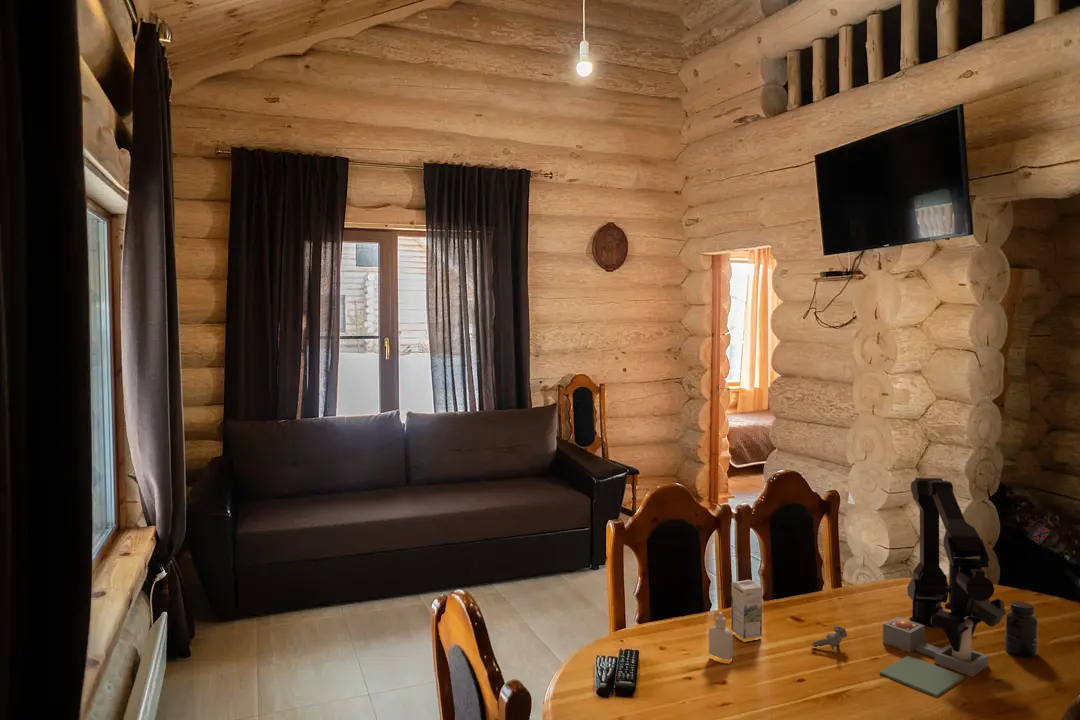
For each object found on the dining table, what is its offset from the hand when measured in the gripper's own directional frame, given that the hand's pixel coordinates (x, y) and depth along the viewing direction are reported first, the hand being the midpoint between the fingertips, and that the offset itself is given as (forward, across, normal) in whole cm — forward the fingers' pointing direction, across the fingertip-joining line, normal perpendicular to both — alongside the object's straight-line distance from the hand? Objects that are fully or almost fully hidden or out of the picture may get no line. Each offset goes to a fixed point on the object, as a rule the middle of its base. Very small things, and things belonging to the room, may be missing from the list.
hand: (961, 648), depth 175 cm
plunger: (+4, 0, +14) cm, 15 cm away
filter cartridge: (+4, 0, 0) cm, 4 cm away
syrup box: (+4, -28, +41) cm, 50 cm away
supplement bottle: (+4, +18, -6) cm, 19 cm away
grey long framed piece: (+4, 0, +7) cm, 8 cm away
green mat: (+4, -13, +3) cm, 14 cm away
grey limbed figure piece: (+4, -17, +23) cm, 29 cm away
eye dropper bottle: (+4, -43, +37) cm, 57 cm away
